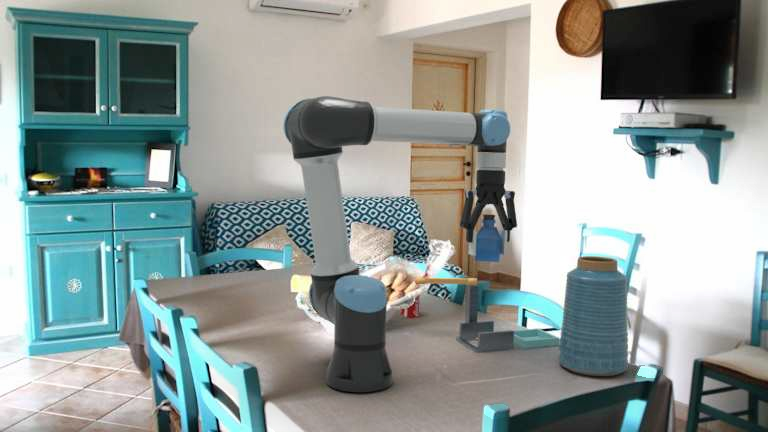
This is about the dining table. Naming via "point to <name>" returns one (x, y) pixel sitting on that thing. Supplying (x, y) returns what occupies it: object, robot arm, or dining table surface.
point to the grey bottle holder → (481, 328)
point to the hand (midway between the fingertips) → (487, 254)
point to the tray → (534, 338)
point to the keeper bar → (446, 281)
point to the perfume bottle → (488, 241)
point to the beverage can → (411, 310)
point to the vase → (595, 319)
